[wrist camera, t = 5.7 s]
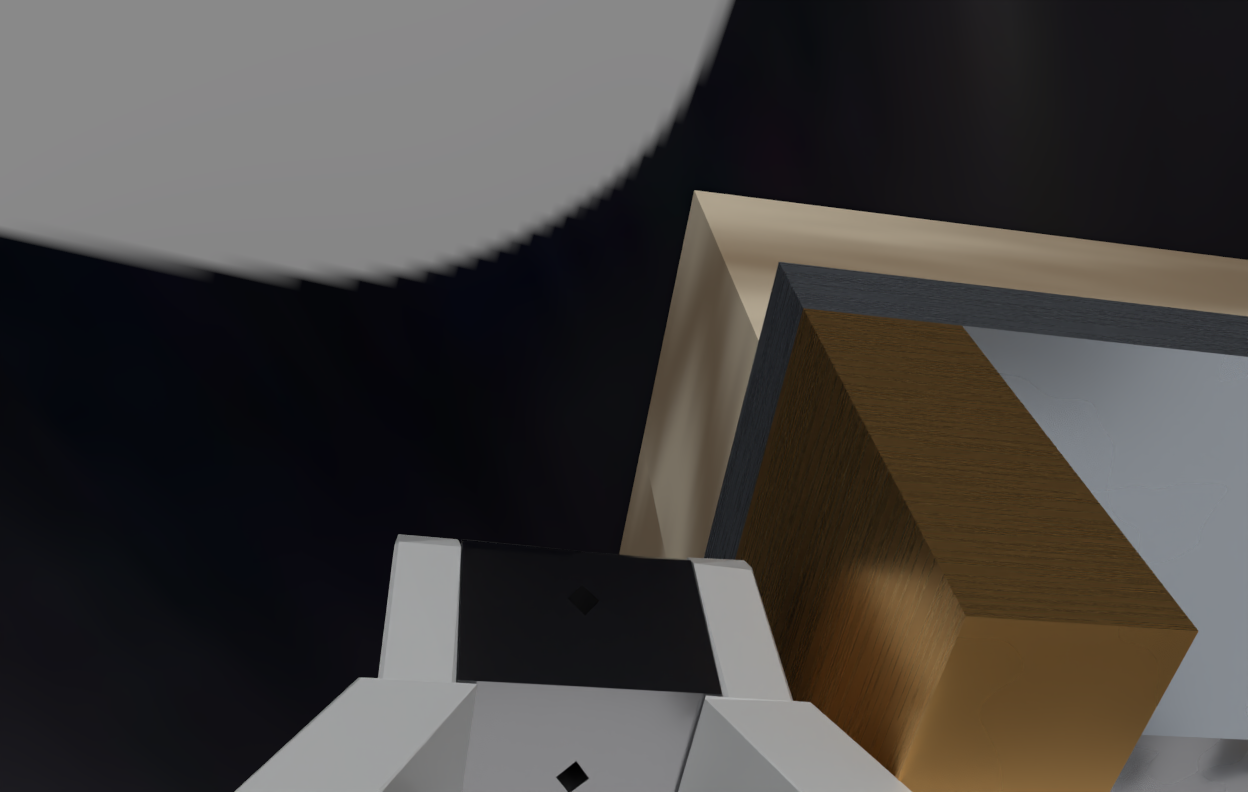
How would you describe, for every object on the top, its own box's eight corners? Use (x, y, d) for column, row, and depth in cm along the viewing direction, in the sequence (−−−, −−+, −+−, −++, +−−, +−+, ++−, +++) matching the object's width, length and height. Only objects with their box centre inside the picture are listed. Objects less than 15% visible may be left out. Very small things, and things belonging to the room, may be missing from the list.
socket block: (694, 190, 18) (795, 427, 12) (1436, 284, 21) (1835, 521, 14) (572, 781, 25) (597, 1124, 19) (1138, 800, 28) (1324, 1111, 21)
